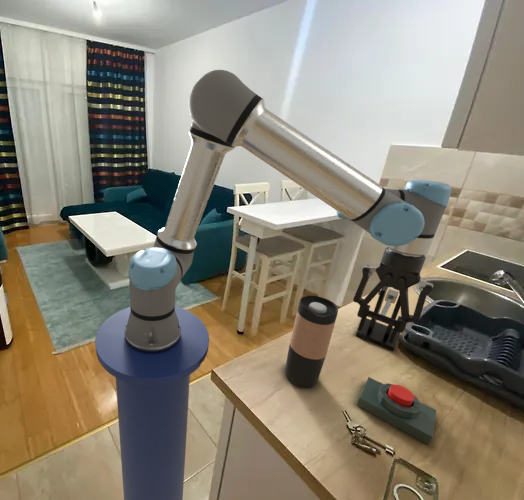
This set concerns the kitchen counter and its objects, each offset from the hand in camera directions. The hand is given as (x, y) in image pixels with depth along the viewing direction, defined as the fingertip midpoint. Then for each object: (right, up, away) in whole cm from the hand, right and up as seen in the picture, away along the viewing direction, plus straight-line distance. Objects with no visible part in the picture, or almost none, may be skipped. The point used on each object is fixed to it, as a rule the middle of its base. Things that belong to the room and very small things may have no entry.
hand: (375, 334), depth 74 cm
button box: (-6, -12, -14) cm, 19 cm away
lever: (+4, +6, +2) cm, 8 cm away
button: (-6, -9, -15) cm, 18 cm away
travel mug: (-22, -9, -5) cm, 24 cm away
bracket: (+7, -3, +10) cm, 13 cm away
